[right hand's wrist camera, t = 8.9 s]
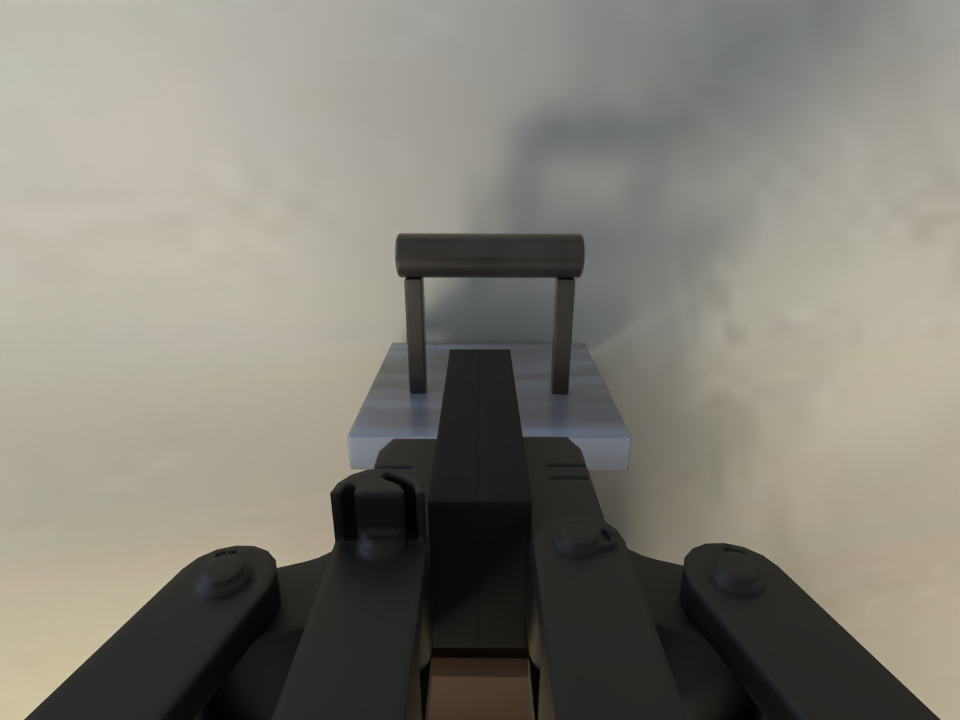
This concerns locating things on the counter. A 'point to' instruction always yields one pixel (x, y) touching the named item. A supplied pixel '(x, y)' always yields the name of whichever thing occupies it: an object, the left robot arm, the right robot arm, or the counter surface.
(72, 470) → the counter surface
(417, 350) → the drawer
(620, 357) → the counter surface
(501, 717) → the cabinet
